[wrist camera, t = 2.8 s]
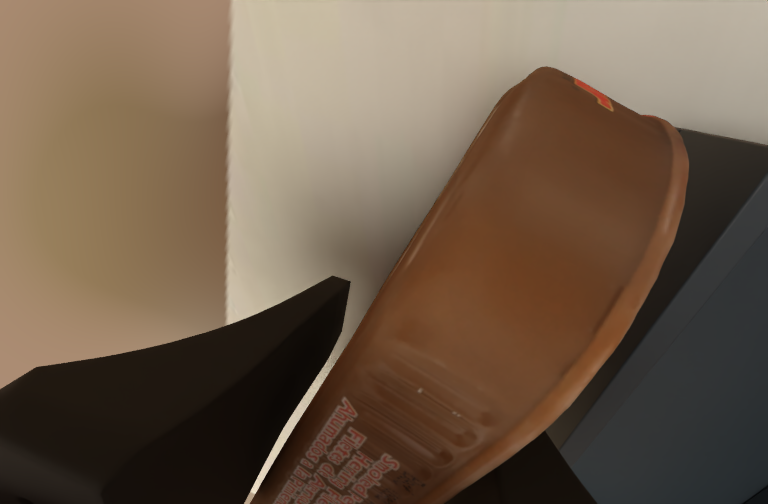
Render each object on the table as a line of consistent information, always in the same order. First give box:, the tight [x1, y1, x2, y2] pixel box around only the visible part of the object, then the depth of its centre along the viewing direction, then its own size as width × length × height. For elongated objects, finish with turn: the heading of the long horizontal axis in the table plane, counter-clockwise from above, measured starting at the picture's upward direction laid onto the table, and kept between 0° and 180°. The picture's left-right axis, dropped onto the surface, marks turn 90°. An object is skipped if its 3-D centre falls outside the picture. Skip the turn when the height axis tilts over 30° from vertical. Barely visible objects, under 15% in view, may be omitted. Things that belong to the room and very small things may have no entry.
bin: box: [545, 127, 768, 504], centre depth 11 cm, size 10×19×4 cm, turn 168°
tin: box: [250, 67, 689, 504], centre depth 10 cm, size 15×3×8 cm, turn 153°
